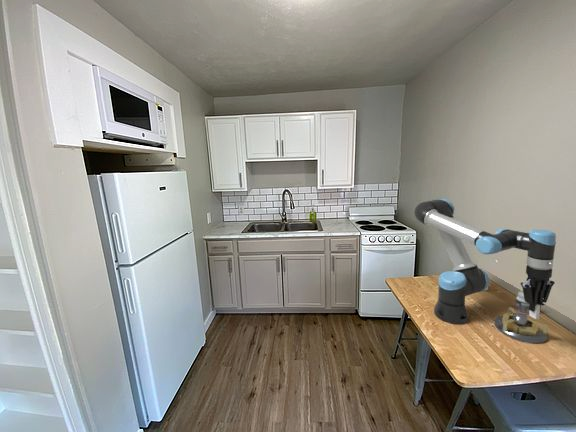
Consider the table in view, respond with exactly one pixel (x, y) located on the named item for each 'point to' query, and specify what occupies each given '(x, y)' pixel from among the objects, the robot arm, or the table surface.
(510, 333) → the hub plate
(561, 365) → the table surface
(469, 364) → the table surface
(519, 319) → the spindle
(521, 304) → the pill bottle
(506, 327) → the taped hex socket base
